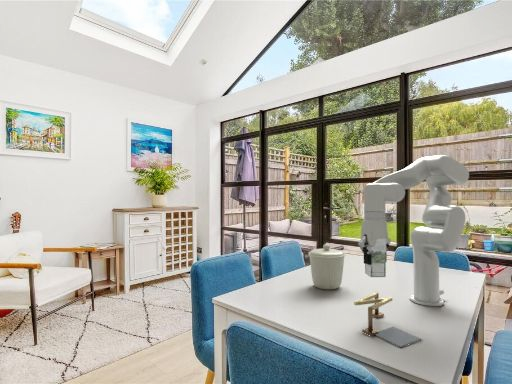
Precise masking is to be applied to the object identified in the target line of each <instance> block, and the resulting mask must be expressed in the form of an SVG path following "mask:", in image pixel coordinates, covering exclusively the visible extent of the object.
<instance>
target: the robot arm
mask: <svg viewBox="0 0 512 384" xmlns="http://www.w3.org/2000/svg"><path fill="white" fill-rule="evenodd" d="M469 178H470V171H469V169H468V168H467V166H466V165H465V164H463V163H462V162H460V161H459V160H456V159H454V158H453V157H451V156H448V155H446V154H444V155H443V154H440V155H439V154H438V155H432V156H431V155H430V156H423V157H421V158H418V159H416V160H415V161H413V163H411V164H409V165H408V166H406V167H405V168H403V169H401V170H398V171H395V172H393V173H391V174H387V175H385V176H383V177H381V178H378V179H377V180H375V181H374V182H373V183H366V184H364V186H363V215H364V216H363V217H364V218H363V220H362V221H361V229H360V240H359V241H358V243H357V245H358V247H359V248H360V250H361V253H363V264H364V265H365V264H368V265H371V264H372V256H371V254H370V252H371V247H374V246H375V244H376V240H377V239H380V238H384V239H386V253H387V252H388V248H389V247H390V244H391V238H390V237H388V235H389V234H388V224H387V220H386V203H398V202H401V201H403V199H404V198H405V196H406V190H409V189H413V188H415V187H417V186H419V185H420V184H421V183H423V182H424V181H425V182H426V185H427V186H428V190H429V197H428V200H427V202H426V205H425V208H424V210H423V214H422V215H421V216H422V217H421V219H422V222H423V224H424V225H426V226H417V227H415V228H413V229H412V230H411V232H410V242H411V248H412V254H413V260H412V261H413V294H411V295H410V296H409V299H410V301H411V302H413V303H415V304H418V305H422V306H427V307H439V306H440V307H441V306H444V304H445V302H444V300H443V298H441V295H444V294H445V291H444V290H443V289H440V259H439V257H438V254H437V253H436V252H442V253H452V252H454V251H455V250H456V249H457V246H458V244H459V242H460V239H461V237H462V236H461V235H462V233H463V230H464V227H465V224H466V211H464V208H462V207H461V206H458V205H451V203H452V201H453V200H452V195H451V193H450V191H448V189H447V188H446V186H458V185H465V184H466V183H467V181H468V180H469ZM368 244H369V245H368ZM367 247H369V248H368V249H367ZM386 263H387V255H386Z"/></svg>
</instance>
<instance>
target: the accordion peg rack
mask: <svg viewBox="0 0 512 384" xmlns="http://www.w3.org/2000/svg"><path fill="white" fill-rule="evenodd" d="M392 301H393V297H391V296H389V297H379V292H377V291H376V292H374V293H371V294H369V295H367V296H364V297H362V298H359V299H358V300H355V301H353V304H354V306H362V305H370V304H372V305H371V306H368V307H367V325H368V326H367V327H366V328H364V329H363V328H362V329H361V332H364V333H366V334H368V335H370V336H373V335H375V334H377V333H379V331H380V330H378V329H374V328H373V326H374V323H373V321H374V319H373V318H375V317H376V318H375V319H380V317H381V318H384V317H385V314H384V313H383V312H380V310H379V308H380V307H382V306H384V305H387V304H388V303H390V302H392ZM373 316H374V317H373ZM383 316H384V317H383ZM364 333H363V334H364ZM366 334H365V335H366ZM368 335H367V336H368ZM370 336H369V337H370ZM373 337H374V336H373Z"/></svg>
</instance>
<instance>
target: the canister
mask: <svg viewBox="0 0 512 384" xmlns="http://www.w3.org/2000/svg"><path fill="white" fill-rule="evenodd" d="M307 253H308V254H307V255H308V256H309V263H310V270H311V271H310V272H311V278H312V284H313V285H314V286H315V287H316V288H318V289H321V290H327V291H329V290H330V291H331V290H336V289H339V288H340V287H341V285H342V280H343V273H344V263H345V257H346V255H347V254H346V253H345V252H343V251H342V250H339V249H335V248H331V245H330V244H329V243H325V244H323V246H322V248H314V249H312V250H310V251H309V252H307Z"/></svg>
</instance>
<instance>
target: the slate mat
mask: <svg viewBox="0 0 512 384" xmlns="http://www.w3.org/2000/svg"><path fill="white" fill-rule="evenodd" d="M378 331H379V333H377V334H375V335H376V336H375V337H377V336H378V337H377V338H379V337H380V338H379V339H381V338H382V339H381V340H383V339H384V340H383V341H385V340H386V341H385V342H387V341H388V342H387V343H389V342H391V343H393V344H395V345H397V346H399V347H398V348H400V347H402V348H404V347H403V346H405V347H407V346H406V345H408V344H410V345H412V344H411V343H413V344H415V343H418V342H420V341H422V337H419V336H416V335H414V334H412V333H409V332H406V331H405V330H402V329H400V328H397V327H395V326H391V327H387V328H384V329H382V330H378ZM417 341H418V342H417ZM414 342H415V343H414ZM391 343H390V344H391ZM393 344H392V345H393ZM395 345H394V346H395ZM397 346H396V347H397ZM408 346H409V345H408Z"/></svg>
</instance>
